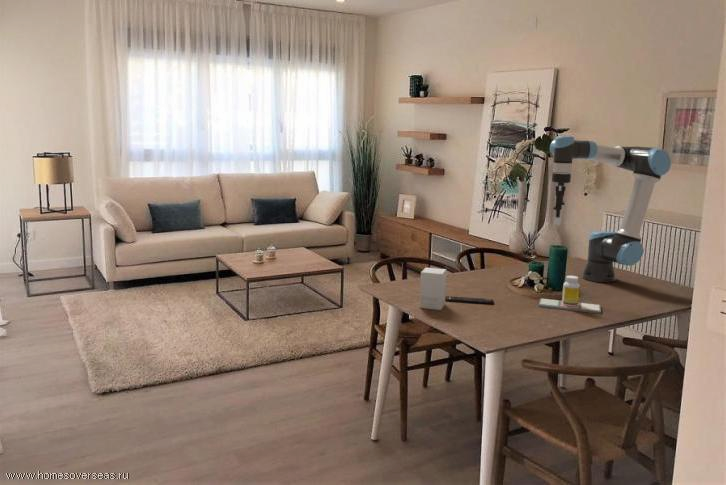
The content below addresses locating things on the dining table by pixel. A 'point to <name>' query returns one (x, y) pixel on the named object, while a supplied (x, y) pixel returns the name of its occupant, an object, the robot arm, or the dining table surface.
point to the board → (580, 307)
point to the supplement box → (433, 288)
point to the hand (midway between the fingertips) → (557, 222)
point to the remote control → (469, 300)
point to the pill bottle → (571, 291)
